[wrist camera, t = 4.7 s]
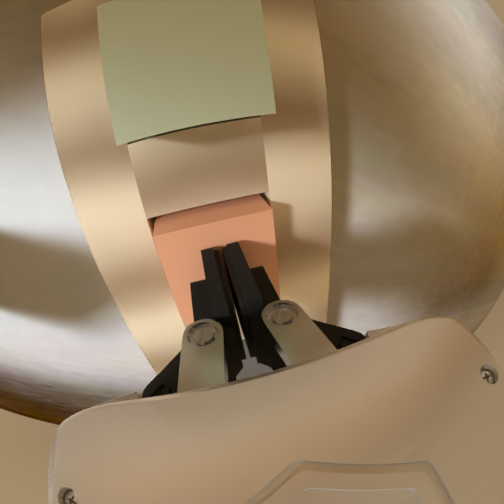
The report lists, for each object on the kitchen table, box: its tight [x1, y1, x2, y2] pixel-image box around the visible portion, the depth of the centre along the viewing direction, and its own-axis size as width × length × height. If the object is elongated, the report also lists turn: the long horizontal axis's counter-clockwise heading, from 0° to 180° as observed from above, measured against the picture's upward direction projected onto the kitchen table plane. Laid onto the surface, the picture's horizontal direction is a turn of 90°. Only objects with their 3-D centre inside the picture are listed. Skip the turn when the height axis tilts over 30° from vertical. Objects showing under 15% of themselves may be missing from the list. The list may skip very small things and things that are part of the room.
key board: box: [41, 0, 332, 375], centre depth 15 cm, size 28×12×3 cm, turn 7°
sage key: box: [97, 0, 276, 146], centre depth 8 cm, size 5×5×4 cm
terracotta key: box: [153, 194, 280, 325], centre depth 14 cm, size 5×5×4 cm
